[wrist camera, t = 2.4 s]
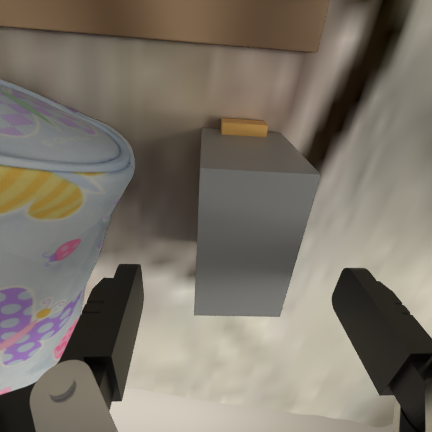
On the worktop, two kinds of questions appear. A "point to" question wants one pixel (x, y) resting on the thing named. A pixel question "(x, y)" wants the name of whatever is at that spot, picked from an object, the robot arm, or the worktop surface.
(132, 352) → the robot arm
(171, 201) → the worktop surface
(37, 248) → the pencil case
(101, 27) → the rail board
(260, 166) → the din module
